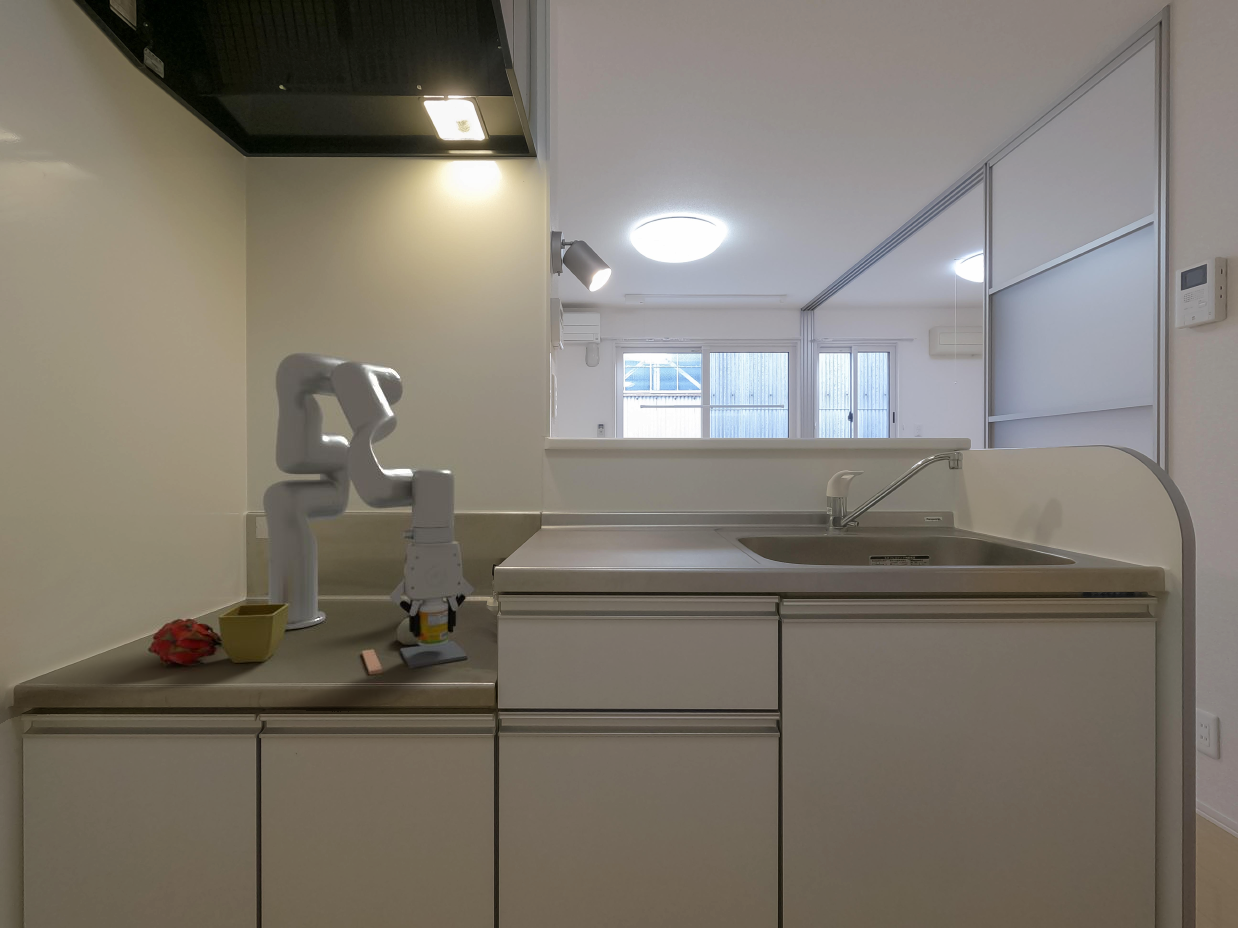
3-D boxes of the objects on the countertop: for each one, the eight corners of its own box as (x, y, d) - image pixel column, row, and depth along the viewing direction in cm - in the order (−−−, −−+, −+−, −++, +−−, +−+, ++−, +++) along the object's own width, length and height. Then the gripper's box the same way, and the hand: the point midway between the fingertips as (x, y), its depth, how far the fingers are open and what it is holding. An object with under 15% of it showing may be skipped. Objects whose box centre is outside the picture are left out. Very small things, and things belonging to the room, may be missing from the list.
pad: (400, 651, 111) (400, 648, 111) (453, 643, 116) (453, 640, 116) (409, 668, 102) (409, 664, 102) (467, 658, 107) (467, 655, 107)
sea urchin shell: (434, 639, 112) (407, 608, 113) (408, 666, 113) (381, 635, 114) (457, 626, 121) (431, 597, 122) (432, 651, 122) (407, 622, 123)
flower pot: (290, 649, 112) (290, 602, 112) (272, 665, 103) (272, 614, 103) (239, 652, 110) (239, 604, 110) (217, 668, 102) (217, 616, 101)
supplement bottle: (416, 640, 110) (416, 589, 110) (445, 637, 112) (446, 586, 112) (419, 649, 105) (419, 595, 105) (449, 645, 107) (450, 592, 107)
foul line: (361, 653, 109) (361, 650, 109) (373, 652, 110) (373, 649, 110) (369, 674, 99) (369, 671, 99) (382, 672, 100) (382, 669, 100)
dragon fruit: (154, 668, 106) (216, 680, 105) (123, 653, 99) (189, 666, 98) (182, 623, 111) (242, 634, 110) (154, 606, 104) (218, 618, 103)
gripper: (386, 541, 101) (386, 645, 101) (484, 535, 110) (484, 631, 110) (380, 536, 108) (380, 634, 108) (473, 530, 116) (473, 622, 116)
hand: (432, 631), depth 109 cm, fingers closed on supplement bottle, 5 cm apart
